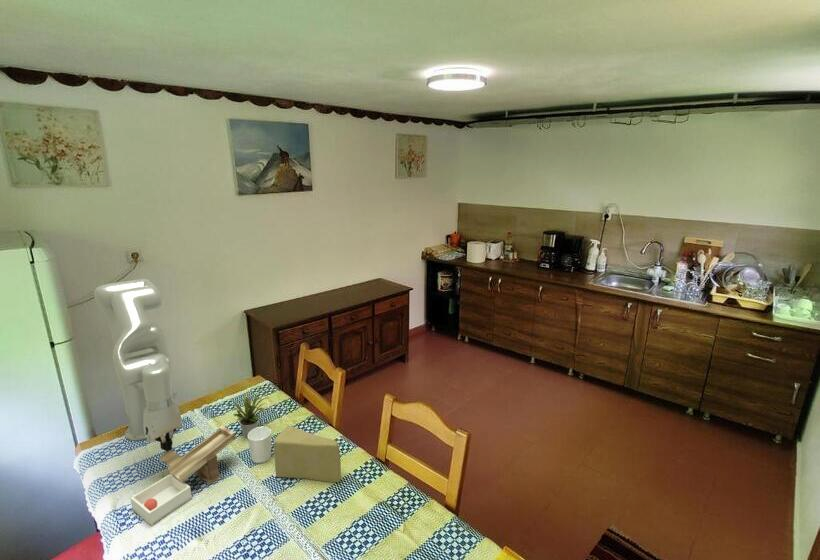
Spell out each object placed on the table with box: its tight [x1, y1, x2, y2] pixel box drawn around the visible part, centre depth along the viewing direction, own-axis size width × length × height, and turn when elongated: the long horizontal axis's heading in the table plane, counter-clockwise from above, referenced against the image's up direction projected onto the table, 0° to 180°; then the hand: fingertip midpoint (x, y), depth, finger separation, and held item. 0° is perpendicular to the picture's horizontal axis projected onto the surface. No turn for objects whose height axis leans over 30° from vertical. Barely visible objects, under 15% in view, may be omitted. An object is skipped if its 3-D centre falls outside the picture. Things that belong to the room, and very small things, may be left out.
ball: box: [144, 499, 157, 511], centre depth 122 cm, size 4×4×4 cm
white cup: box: [247, 426, 272, 464], centre depth 146 cm, size 8×8×10 cm
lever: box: [158, 425, 237, 482], centre depth 137 cm, size 16×20×4 cm
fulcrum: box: [193, 454, 222, 485], centre depth 137 cm, size 10×4×9 cm, turn 59°
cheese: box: [272, 425, 342, 483], centre depth 138 cm, size 22×10×15 cm, turn 75°
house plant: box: [229, 391, 269, 439], centre depth 157 cm, size 14×14×16 cm
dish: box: [130, 473, 193, 527], centre depth 125 cm, size 11×12×4 cm
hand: (167, 449), depth 135 cm, fingers closed
